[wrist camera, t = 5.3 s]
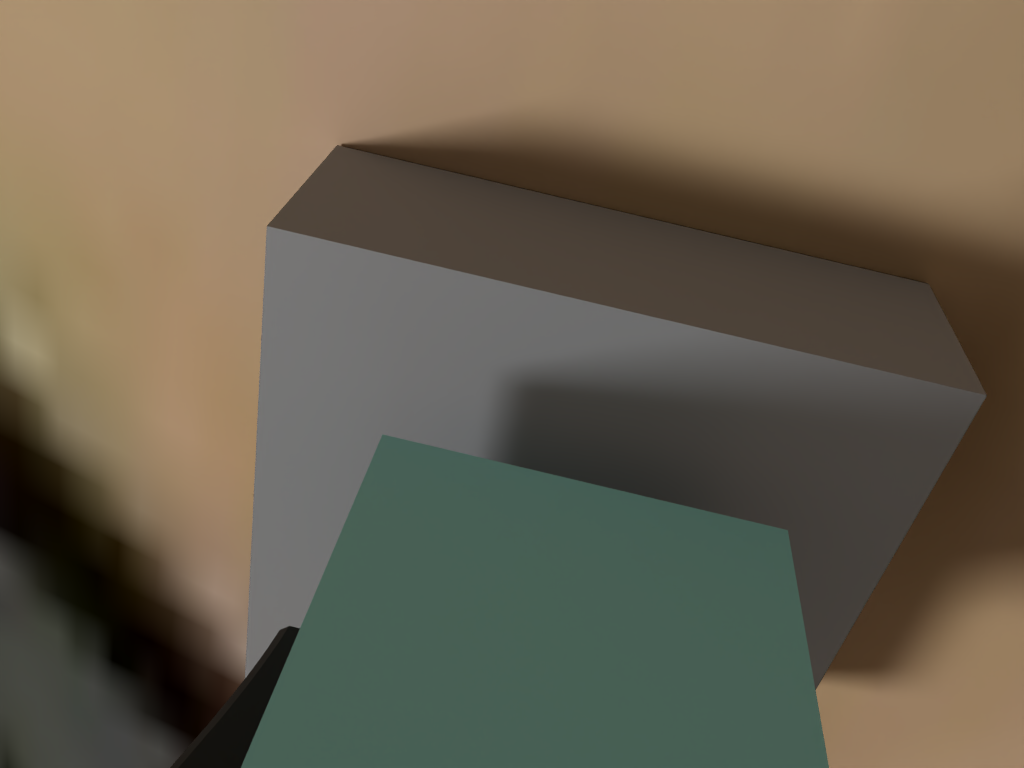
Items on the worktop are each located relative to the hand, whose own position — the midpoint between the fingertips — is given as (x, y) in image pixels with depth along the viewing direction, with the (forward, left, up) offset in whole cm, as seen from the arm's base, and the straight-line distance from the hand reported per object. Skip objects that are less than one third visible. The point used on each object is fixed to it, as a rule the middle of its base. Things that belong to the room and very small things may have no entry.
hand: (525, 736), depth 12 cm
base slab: (0, 0, -6) cm, 6 cm away
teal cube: (0, 0, -2) cm, 2 cm away
